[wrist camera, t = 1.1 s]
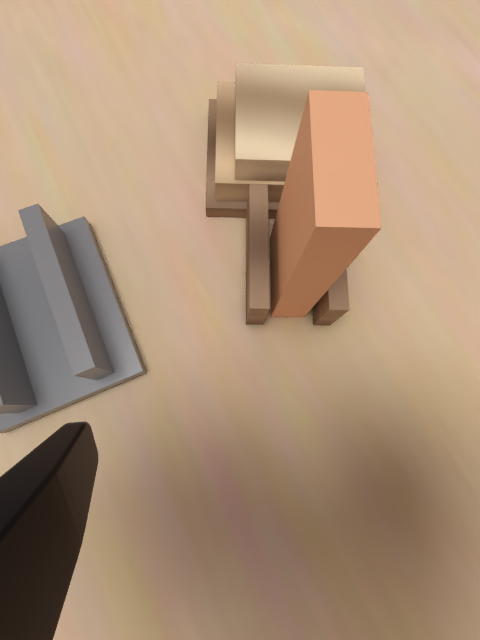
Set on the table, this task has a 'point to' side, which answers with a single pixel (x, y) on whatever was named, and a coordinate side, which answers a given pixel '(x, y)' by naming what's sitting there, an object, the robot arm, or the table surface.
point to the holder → (58, 321)
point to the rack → (265, 163)
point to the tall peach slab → (324, 201)
